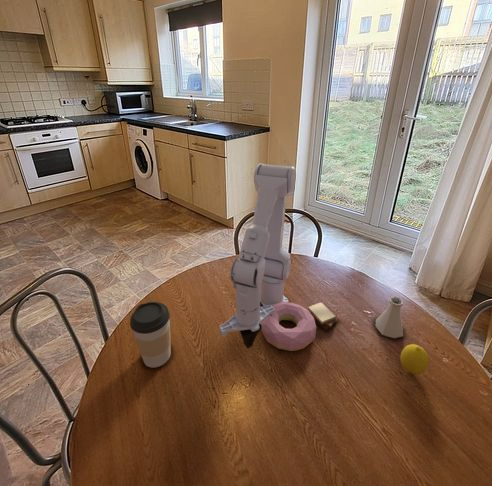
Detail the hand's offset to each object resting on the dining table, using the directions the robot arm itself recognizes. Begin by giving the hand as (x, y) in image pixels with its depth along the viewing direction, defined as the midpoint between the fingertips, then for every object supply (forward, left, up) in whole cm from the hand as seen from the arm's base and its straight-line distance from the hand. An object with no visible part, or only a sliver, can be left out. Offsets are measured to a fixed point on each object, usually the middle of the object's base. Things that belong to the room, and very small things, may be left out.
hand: (247, 344), depth 75 cm
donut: (0, +13, -2) cm, 13 cm away
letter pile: (+1, +24, -2) cm, 24 cm away
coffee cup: (-10, -21, -2) cm, 23 cm away
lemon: (+24, +31, -2) cm, 39 cm away
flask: (+13, +38, -2) cm, 40 cm away
